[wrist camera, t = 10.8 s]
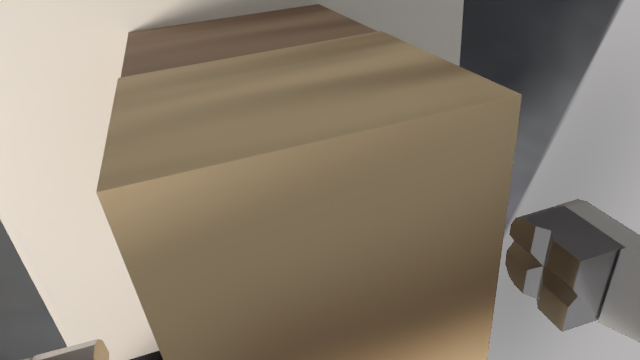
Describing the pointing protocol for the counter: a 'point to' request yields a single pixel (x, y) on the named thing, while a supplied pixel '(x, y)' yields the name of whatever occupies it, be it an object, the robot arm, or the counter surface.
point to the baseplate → (91, 132)
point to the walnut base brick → (233, 37)
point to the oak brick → (313, 202)
